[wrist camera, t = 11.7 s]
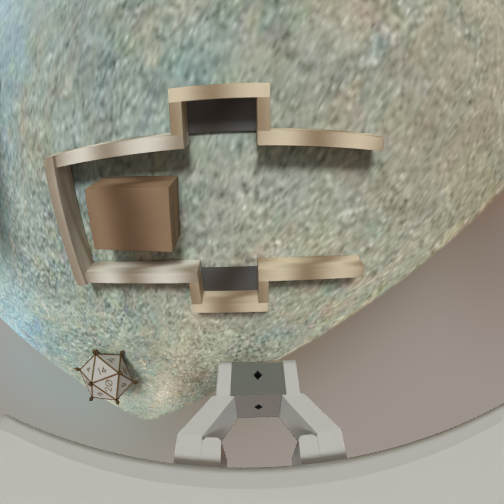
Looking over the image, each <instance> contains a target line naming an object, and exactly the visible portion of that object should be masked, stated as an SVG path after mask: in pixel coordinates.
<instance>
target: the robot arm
mask: <svg viewBox="0 0 504 504" xmlns="http://www.w3.org/2000/svg"><path fill="white" fill-rule="evenodd" d="M245 417H246V418H249V417H279V418H280V419H281V421H282V422H283V423H284V425H285V426H286V427H287V428H288V430H289V431H290V432H291V433H292V435H293V436H294V437H295V438H296V440H297V441H298V442H297V445H296V448H295V451H294V454H293V457H292V466H281V467H259V468H228V467H227V458H226V455H225V452H224V449H223V445H222V440H223V439H224V437H225V436H226V435H227V433H228V432H229V430H230V429H231V428H232V426H233V425H234V423H235V422H236V420H237V418H245ZM0 504H504V404H501V405H499V406H498V407H496V408H494V409H492V410H490V411H488V412H486V413H484V414H482V415H480V416H478V417H476V418H473V419H471V420H469V421H467V422H465V423H462V424H460V425H458V426H455V427H453V428H450V429H448V430H445V431H443V432H440V433H437V434H435V435H432V436H429V437H426V438H424V439H420V440H417V441H414V442H411V443H408V444H405V445H401V446H398V447H394V448H390V449H387V450H383V451H379V452H375V453H370V454H366V455H361V456H357V457H351V458H347V456H346V451H345V446H344V441H343V436H342V431H341V429H340V428H339V427H338V426H337V425H336V424H335V423H334V422H333V421H332V420H331V419H330V418H329V417H327V416H326V414H325V413H323V412H322V411H321V410H320V409H319V408H318V407H317V406H316V405H315V404H314V403H313V402H312V401H311V400H310V399H309V398H308V397H307V396H306V395H305V394H304V393H303V394H302V393H301V392H300V386H299V379H298V372H297V365H296V361H295V360H285V361H282V360H279V361H259V362H219V365H218V375H217V388H216V396H212V397H211V398H210V399H209V400H208V401H207V402H206V403H205V404H204V406H203V407H202V408H201V409H200V410H199V411H198V412H197V413H196V414H195V416H194V417H193V418H192V419H191V420H190V421H189V422H188V423H187V424H186V425H185V427H184V428H183V429H182V430H181V431H180V432H179V433H178V435H177V442H176V449H175V456H174V463H166V462H159V461H153V460H147V459H141V458H136V457H131V456H126V455H122V454H117V453H113V452H108V451H105V450H101V449H98V448H94V447H90V446H87V445H84V444H80V443H77V442H74V441H71V440H68V439H65V438H62V437H59V436H56V435H54V434H51V433H48V432H46V431H43V430H41V429H38V428H36V427H33V426H31V425H29V424H26V423H24V422H22V421H20V420H18V419H16V418H14V417H11V416H9V415H4V416H1V417H0Z"/></svg>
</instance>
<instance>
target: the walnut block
mask: <svg viewBox="0 0 504 504" xmlns="http://www.w3.org/2000/svg"><path fill="white" fill-rule="evenodd" d="M85 194H86V201H87V208H88V214H89V220H90V225H91V231H92V236H93V241H94V246H95V249H109V250H134V251H160V252H173V249H174V247H175V245H176V242H177V240H178V237H179V235H180V222H179V199H178V176H131V177H107V178H101V179H100V180H98V181H97V182H95V183H94V184H92V185H91V186H90V187H88V188H87V189H85Z"/></svg>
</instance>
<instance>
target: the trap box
mask: <svg viewBox="0 0 504 504" xmlns="http://www.w3.org/2000/svg"><path fill="white" fill-rule="evenodd" d="M168 94H169V113H170V129H171V133H167V134H158V135H150V136H142V137H135V138H129V139H122V140H116V141H110V142H105V143H99V144H94V145H89V146H84V147H80V148H75V149H71V150H66V151H62V152H59V153H56V154H54V155H52V156H49V157H47V158H45V159H44V165H45V171H46V176H47V181H48V186H49V191H50V195H51V199H52V204H53V208H54V212H55V216H56V219H57V223H58V227H59V230H60V234H61V237H62V240H63V244H64V247H65V250H66V253H67V256H68V259H69V262H70V265H71V268H72V271H73V274H74V276H75V279H76V282H77V284H78V285H87V283H189V287H190V293H191V299H192V305H193V310H194V313H228V312H266V311H268V292H269V281H289V280H313V279H334V278H353V277H363V274H364V269H365V267H364V265H363V264H362V262H361V260H360V259H359V257H358V256H357V255H346V256H314V257H280V258H257V261H258V266H248V267H207V268H201V262H200V260H162V261H113V262H93V259H92V256H91V252H90V249H89V245H88V242H87V238H86V235H85V231H84V227H83V223H82V219H81V215H80V211H79V206H78V202H77V197H76V192H75V187H74V182H73V177H72V171H71V166H70V165H71V164H76V163H81V162H86V161H92V160H98V159H104V158H110V157H116V156H123V155H131V154H138V153H146V152H155V151H165V150H175V149H184V148H185V147H187V146H188V145H189V134H192V133H206V132H224V131H256V141H257V144H258V145H298V146H325V147H342V148H355V149H367V150H377V151H383V144H384V138H382V137H380V136H377V135H374V134H367V133H357V132H347V131H334V130H318V129H295V128H270V83H231V84H212V85H199V86H189V87H180V88H171V89H168Z"/></svg>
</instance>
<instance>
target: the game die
mask: <svg viewBox="0 0 504 504" xmlns="http://www.w3.org/2000/svg"><path fill="white" fill-rule="evenodd" d="M123 353H124V350H123V351H121V352H120V354H99V352H98V350H96V351H95V350H94V349H93V354H94V356H93V357H92V358H91V359H90V360H89V361H88V362H87V363H86V364H85V365H84V366H83V367H82V368H81V369H79V368H74V369H75V370H76V371H80V372H81V374H82V377H83V379H84V381H85V383H86V386H87V388H88V390H89V392H90V394H91V397H90V400H89V401H92V400H93V398H101V399H109V400H116V404H118V405H119V400H118V399H119V397H120V396H121V395H122V394H123V393H124V392H125V391H126V389H127V388H128V387H129V386H130V385H131V384H132V383H134V384H137V383H139V382H137V381H135V380H134V381H133V380H132V378H131V376H130V374H129V371H128V369H127V367H126V365H125V363H124V360H123V358H122V355H123Z"/></svg>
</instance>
